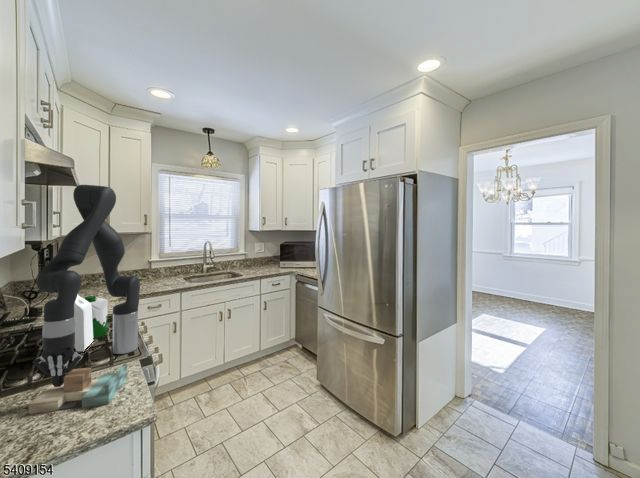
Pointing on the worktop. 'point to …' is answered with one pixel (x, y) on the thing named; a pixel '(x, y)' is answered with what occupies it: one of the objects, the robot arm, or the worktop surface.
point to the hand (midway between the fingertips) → (58, 385)
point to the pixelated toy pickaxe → (80, 394)
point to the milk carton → (98, 315)
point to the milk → (83, 324)
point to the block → (77, 380)
